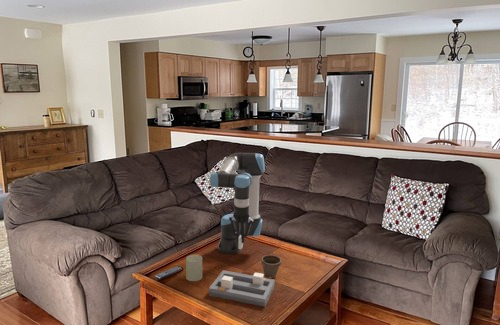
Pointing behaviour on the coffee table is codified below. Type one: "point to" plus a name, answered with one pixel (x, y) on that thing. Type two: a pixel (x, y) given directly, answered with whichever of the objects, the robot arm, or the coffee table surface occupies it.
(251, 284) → the switch bank
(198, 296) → the coffee table surface
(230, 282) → the tab
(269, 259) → the flower pot
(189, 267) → the can
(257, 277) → the tab
